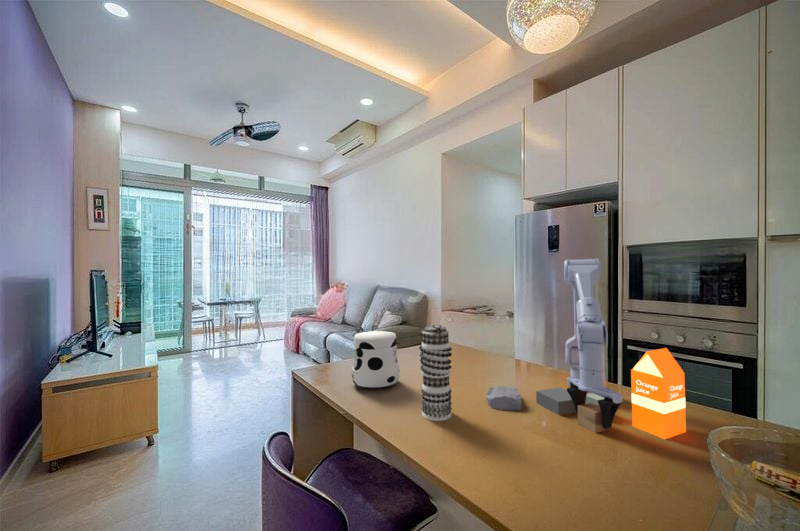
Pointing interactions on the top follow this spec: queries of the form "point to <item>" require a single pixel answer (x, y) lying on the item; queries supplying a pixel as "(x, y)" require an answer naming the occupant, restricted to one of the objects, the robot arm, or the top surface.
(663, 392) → the orange juice
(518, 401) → the stone block
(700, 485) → the top surface
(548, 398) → the charcoal block
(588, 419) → the walnut block
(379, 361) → the milk container
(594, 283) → the robot arm
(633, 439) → the top surface
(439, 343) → the decorative candle
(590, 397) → the sage block
